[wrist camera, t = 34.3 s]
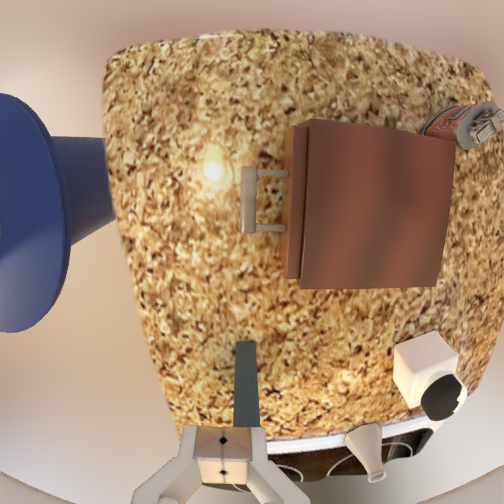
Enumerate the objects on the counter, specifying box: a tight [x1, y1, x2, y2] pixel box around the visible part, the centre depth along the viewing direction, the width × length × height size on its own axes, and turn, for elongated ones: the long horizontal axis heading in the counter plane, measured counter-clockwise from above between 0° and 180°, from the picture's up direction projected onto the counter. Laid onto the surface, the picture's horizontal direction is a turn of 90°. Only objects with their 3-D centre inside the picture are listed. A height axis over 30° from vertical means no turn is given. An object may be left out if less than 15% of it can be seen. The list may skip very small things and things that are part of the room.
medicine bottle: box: [393, 331, 467, 421], centre depth 34 cm, size 7×7×12 cm
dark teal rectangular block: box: [233, 342, 260, 427], centre depth 32 cm, size 2×8×15 cm, turn 179°
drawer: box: [240, 126, 308, 279], centre depth 29 cm, size 18×13×6 cm
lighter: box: [420, 101, 504, 150], centre depth 25 cm, size 8×3×10 cm, turn 128°
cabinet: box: [297, 119, 455, 289], centre depth 29 cm, size 15×15×8 cm
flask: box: [344, 423, 387, 483], centre depth 40 cm, size 7×7×10 cm
